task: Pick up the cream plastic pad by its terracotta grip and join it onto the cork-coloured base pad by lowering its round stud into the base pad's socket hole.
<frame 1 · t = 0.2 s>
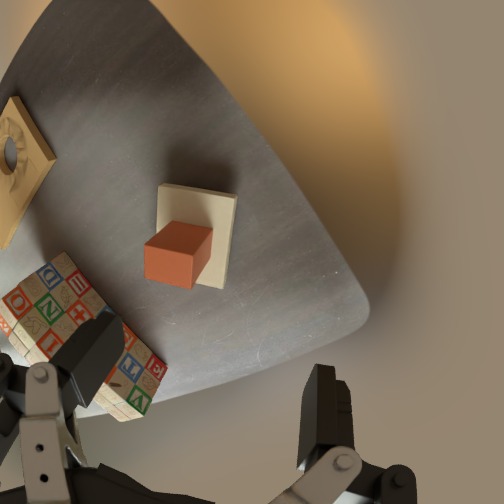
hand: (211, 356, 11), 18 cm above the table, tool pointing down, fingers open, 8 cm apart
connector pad: (199, 229, 29), on the table
stack of blocks: (105, 319, 38), on the table
base pad: (7, 177, 31), on the table
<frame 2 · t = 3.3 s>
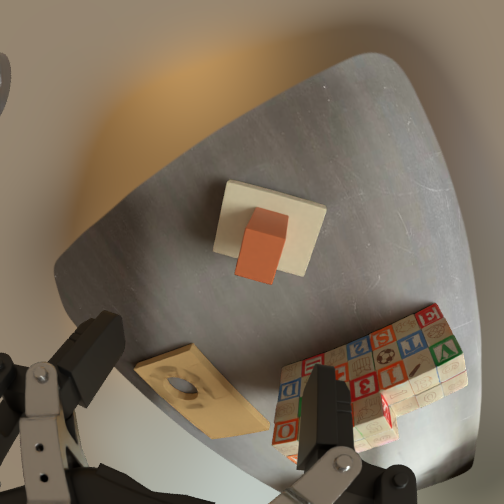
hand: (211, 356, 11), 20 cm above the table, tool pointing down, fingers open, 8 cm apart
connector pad: (269, 222, 30), on the table
stack of blocks: (365, 352, 35), on the table
base pad: (204, 396, 43), on the table
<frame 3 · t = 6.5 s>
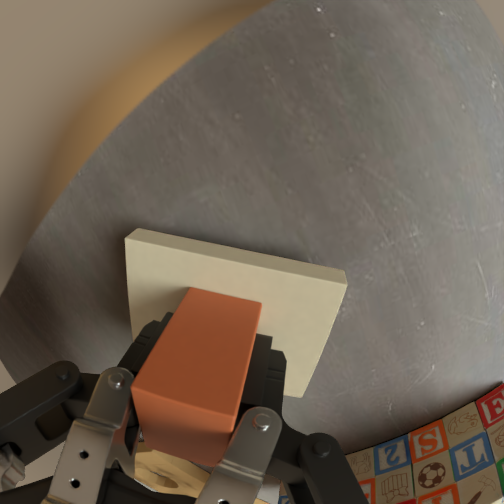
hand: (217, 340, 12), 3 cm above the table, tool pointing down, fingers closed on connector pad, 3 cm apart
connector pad: (233, 299, 15), on the table, touching gripper
stack of blocks: (399, 448, 20), on the table
base pad: (189, 483, 28), on the table
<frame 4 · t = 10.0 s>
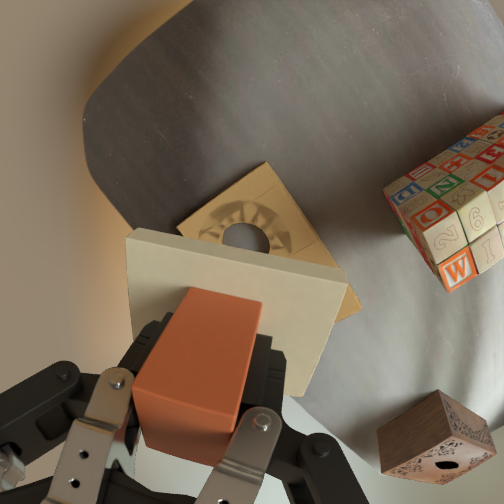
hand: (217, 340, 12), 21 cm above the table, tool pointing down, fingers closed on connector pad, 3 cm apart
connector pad: (233, 299, 15), point 18 cm above the table, touching gripper
tissue box cover: (438, 426, 45), on the table
stack of blocks: (465, 165, 26), on the table
base pad: (274, 264, 35), on the table
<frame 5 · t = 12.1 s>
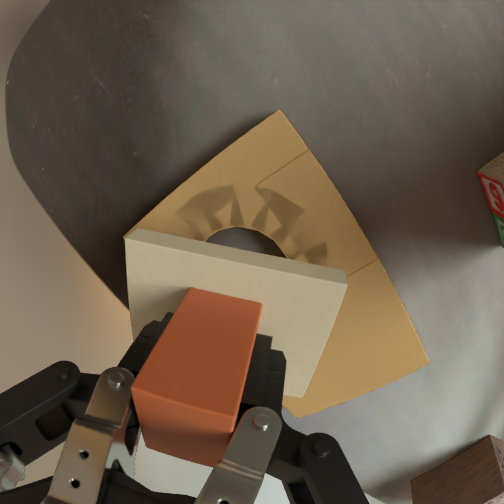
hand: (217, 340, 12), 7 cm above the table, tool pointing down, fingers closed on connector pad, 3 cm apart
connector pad: (233, 300, 15), point 4 cm above the table, touching gripper
tissue box cover: (477, 466, 30), on the table
base pad: (294, 299, 20), on the table
when the fingers open (3 cm above the table, at t = 13.4 s): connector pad stays where it is, resting on base pad.
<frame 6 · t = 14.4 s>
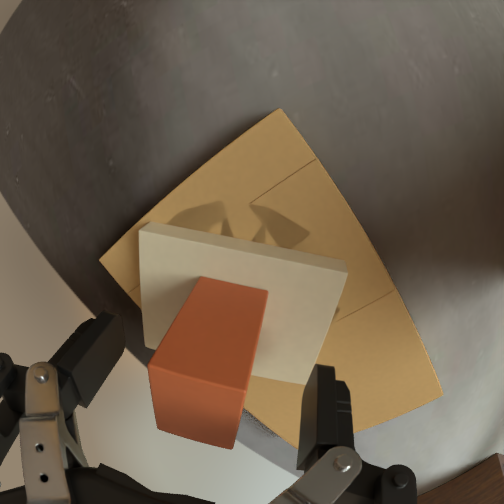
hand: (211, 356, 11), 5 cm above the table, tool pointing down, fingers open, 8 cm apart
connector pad: (239, 290, 16), resting on base pad
tissue box cover: (482, 481, 26), on the table
base pad: (297, 330, 17), on the table
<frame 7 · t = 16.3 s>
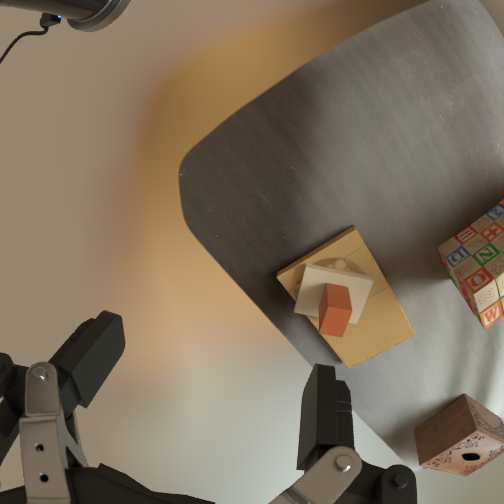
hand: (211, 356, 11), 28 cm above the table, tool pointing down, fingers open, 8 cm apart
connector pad: (332, 287, 40), resting on base pad
tissue box cover: (462, 424, 49), on the table
stack of blocks: (496, 224, 32), on the table
base pad: (351, 303, 41), on the table
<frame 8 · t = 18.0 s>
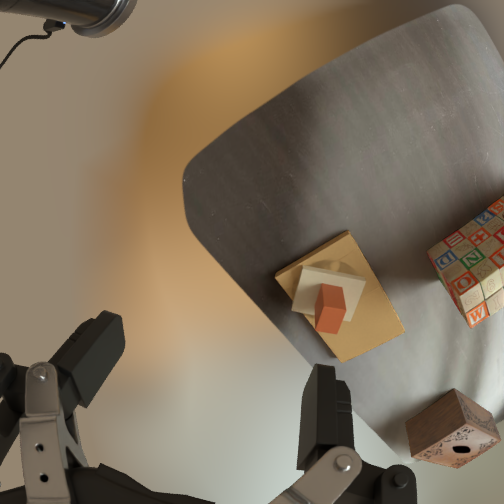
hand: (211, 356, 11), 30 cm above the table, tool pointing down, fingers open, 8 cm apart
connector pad: (327, 287, 43), resting on base pad
tissue box cover: (452, 418, 54), on the table
stack of blocks: (484, 229, 35), on the table
base pad: (345, 302, 44), on the table
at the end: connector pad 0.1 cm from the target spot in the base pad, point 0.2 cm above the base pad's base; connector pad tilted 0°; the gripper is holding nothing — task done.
